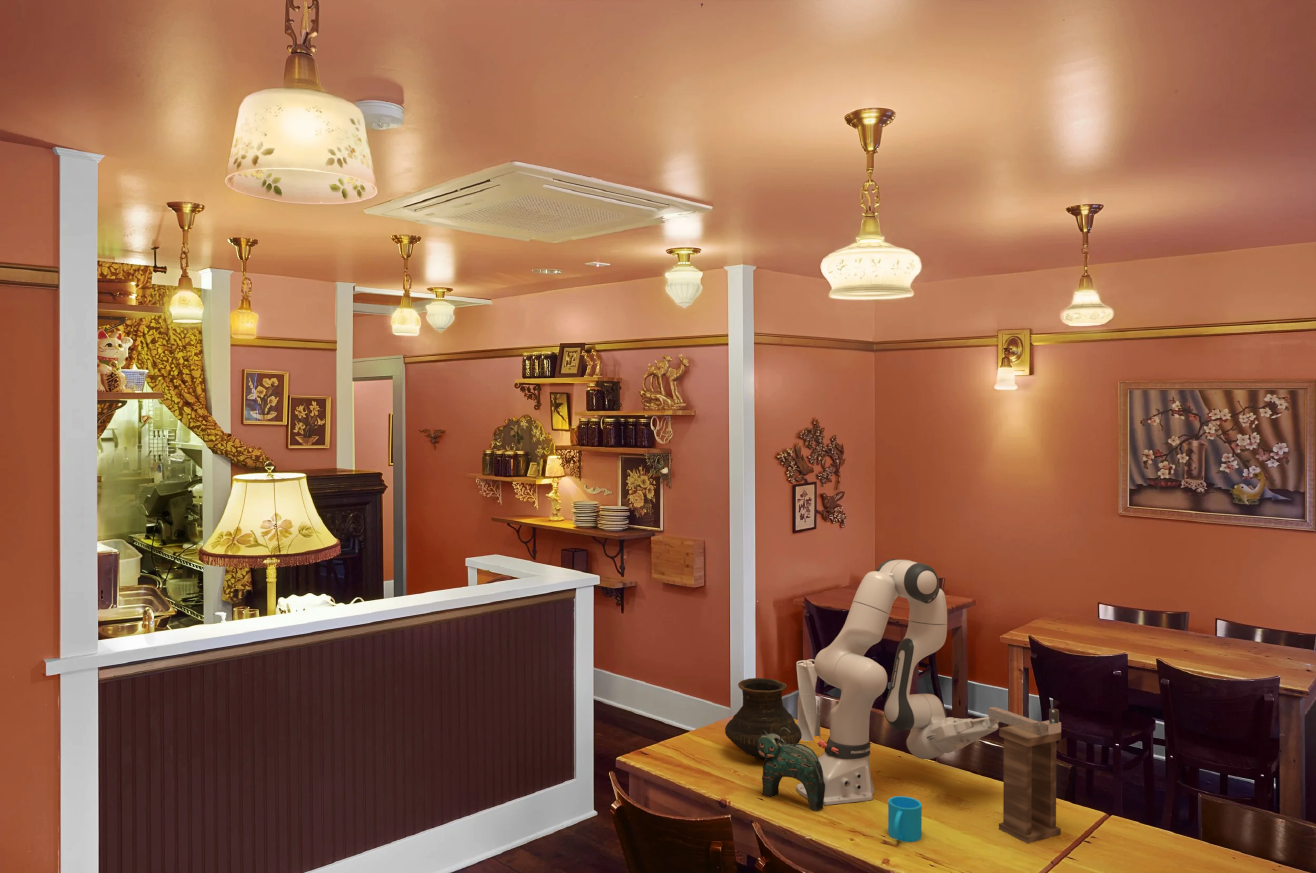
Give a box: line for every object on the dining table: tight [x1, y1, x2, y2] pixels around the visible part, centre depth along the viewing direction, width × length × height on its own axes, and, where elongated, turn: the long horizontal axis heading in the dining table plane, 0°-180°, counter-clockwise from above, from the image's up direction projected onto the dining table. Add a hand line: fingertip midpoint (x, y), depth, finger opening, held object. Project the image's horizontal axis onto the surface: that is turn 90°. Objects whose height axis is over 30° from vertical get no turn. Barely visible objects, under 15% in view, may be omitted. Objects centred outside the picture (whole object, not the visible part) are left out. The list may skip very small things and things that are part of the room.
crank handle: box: [987, 706, 1062, 736], centre depth 229 cm, size 17×7×6 cm, turn 26°
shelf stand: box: [998, 725, 1062, 844], centre depth 224 cm, size 12×9×26 cm
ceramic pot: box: [724, 677, 802, 760], centre depth 278 cm, size 24×24×22 cm
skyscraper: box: [796, 658, 821, 742], centre depth 293 cm, size 8×8×28 cm
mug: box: [887, 795, 923, 843], centre depth 220 cm, size 12×8×8 cm
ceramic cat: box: [757, 727, 825, 812], centre depth 242 cm, size 20×6×20 cm, turn 50°
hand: (984, 721), depth 237 cm, fingers open, 8 cm apart
